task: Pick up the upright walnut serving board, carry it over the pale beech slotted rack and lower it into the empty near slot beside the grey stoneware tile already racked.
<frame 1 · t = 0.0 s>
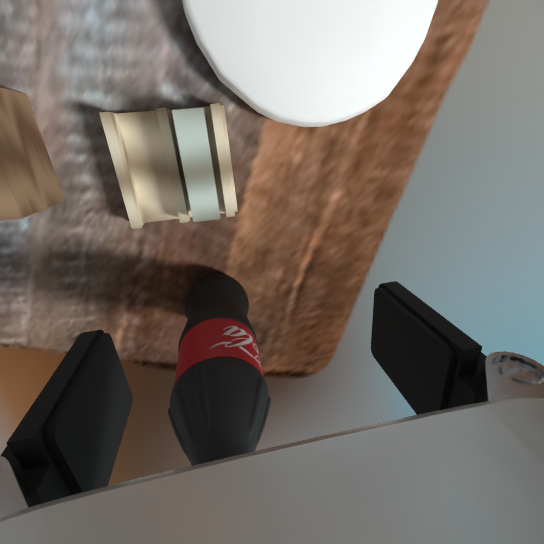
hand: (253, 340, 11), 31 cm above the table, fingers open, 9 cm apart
board: (32, 152, 34), on the table
rack: (176, 166, 37), on the table
cola bottle: (216, 294, 44), on the table
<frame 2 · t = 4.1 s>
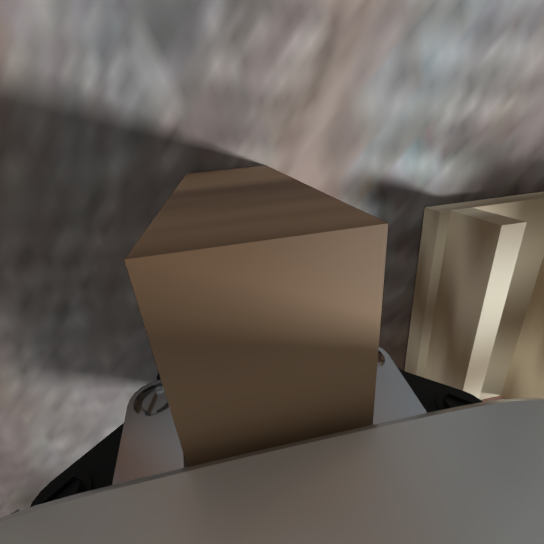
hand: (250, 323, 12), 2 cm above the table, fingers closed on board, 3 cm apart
board: (244, 296, 14), on the table, touching gripper
rack: (518, 300, 17), on the table
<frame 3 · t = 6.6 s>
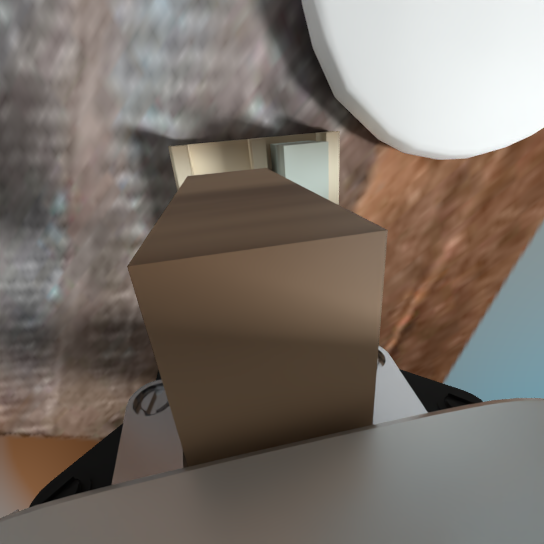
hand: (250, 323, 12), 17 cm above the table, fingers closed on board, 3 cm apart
board: (244, 297, 14), point 14 cm above the table, touching gripper
rack: (259, 211, 27), on the table
when the fingers open (5 cm above the table, at t = 9.1 s): board drops 1 cm, resting on rack.
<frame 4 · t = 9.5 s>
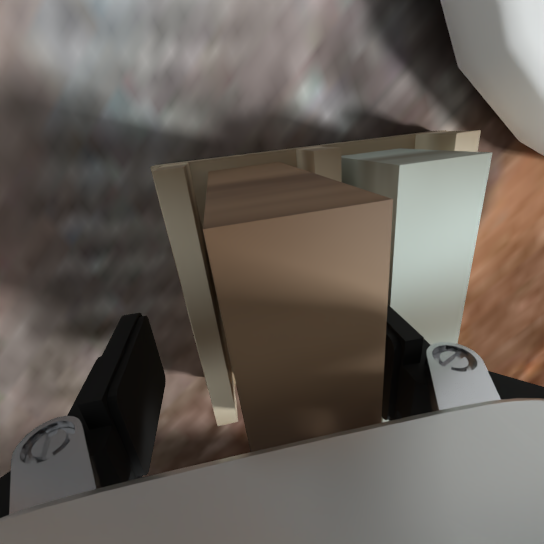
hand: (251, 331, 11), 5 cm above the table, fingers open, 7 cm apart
board: (260, 282, 15), point 1 cm above the table, touching rack
rack: (308, 267, 16), on the table
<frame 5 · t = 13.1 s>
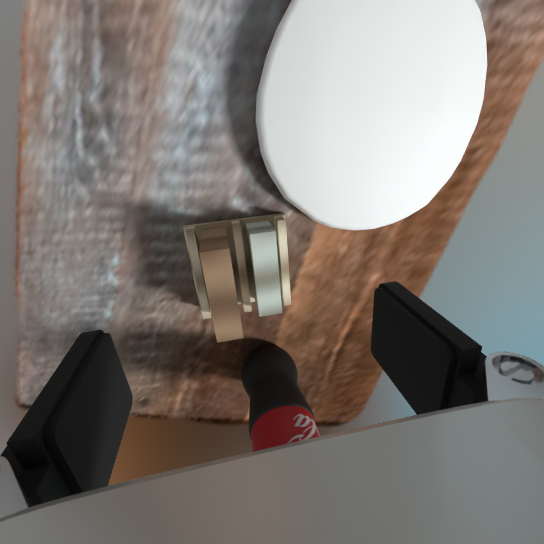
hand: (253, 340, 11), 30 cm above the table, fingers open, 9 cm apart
board: (220, 266, 41), point 1 cm above the table, touching rack
rack: (240, 261, 42), on the table
cola bottle: (266, 360, 50), on the table
plate: (359, 113, 38), on the table
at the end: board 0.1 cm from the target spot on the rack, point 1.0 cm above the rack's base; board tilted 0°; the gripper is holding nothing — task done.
